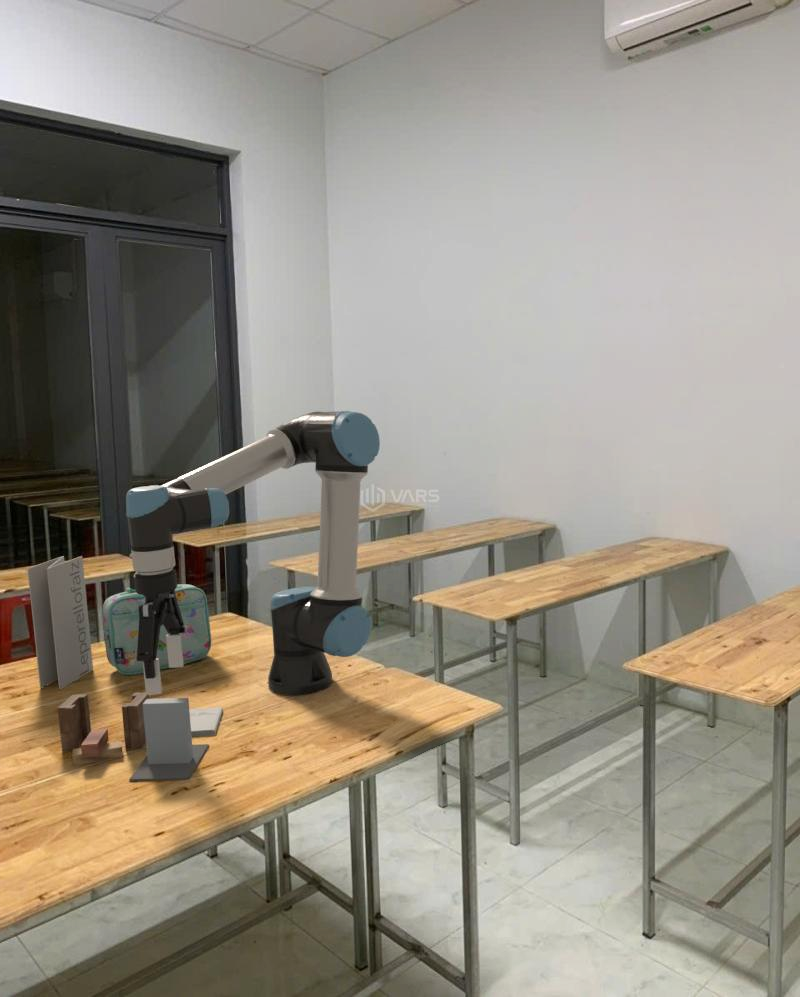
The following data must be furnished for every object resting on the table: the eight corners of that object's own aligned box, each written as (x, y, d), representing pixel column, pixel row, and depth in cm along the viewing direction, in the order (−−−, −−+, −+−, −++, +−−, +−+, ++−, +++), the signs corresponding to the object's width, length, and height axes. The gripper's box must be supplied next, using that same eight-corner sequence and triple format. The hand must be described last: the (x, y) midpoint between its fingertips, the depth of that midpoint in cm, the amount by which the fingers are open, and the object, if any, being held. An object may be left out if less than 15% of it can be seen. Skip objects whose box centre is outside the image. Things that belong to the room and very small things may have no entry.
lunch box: (109, 682, 202) (102, 598, 200) (101, 670, 211) (94, 589, 208) (215, 660, 216) (209, 581, 213) (203, 650, 224) (198, 574, 222)
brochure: (60, 690, 199) (47, 568, 194) (39, 689, 200) (27, 568, 196) (93, 669, 212) (82, 556, 208) (74, 669, 213) (62, 555, 209)
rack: (153, 733, 171) (149, 692, 170) (140, 749, 164) (136, 706, 162) (77, 735, 172) (73, 694, 170) (61, 751, 164) (56, 708, 163)
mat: (208, 746, 164) (208, 744, 164) (188, 779, 150) (188, 777, 150) (154, 747, 164) (154, 745, 164) (129, 781, 150) (129, 779, 150)
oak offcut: (122, 752, 164) (121, 740, 163) (122, 758, 161) (121, 746, 160) (74, 761, 161) (72, 749, 160) (73, 767, 158) (72, 755, 157)
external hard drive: (175, 740, 169) (185, 716, 181) (215, 736, 170) (223, 713, 182) (174, 732, 169) (185, 708, 181) (214, 729, 169) (222, 706, 182)
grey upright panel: (193, 757, 158) (188, 697, 156) (189, 763, 156) (184, 702, 154) (152, 758, 158) (146, 699, 157) (147, 764, 156) (142, 703, 154)
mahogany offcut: (93, 741, 163) (92, 729, 163) (108, 740, 164) (107, 728, 163) (82, 757, 156) (80, 744, 156) (98, 756, 157) (96, 743, 156)
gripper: (156, 556, 164) (166, 657, 168) (109, 588, 140) (122, 707, 143) (193, 554, 164) (202, 656, 167) (152, 586, 139) (164, 705, 143)
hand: (165, 679), depth 155 cm, fingers open, 13 cm apart
